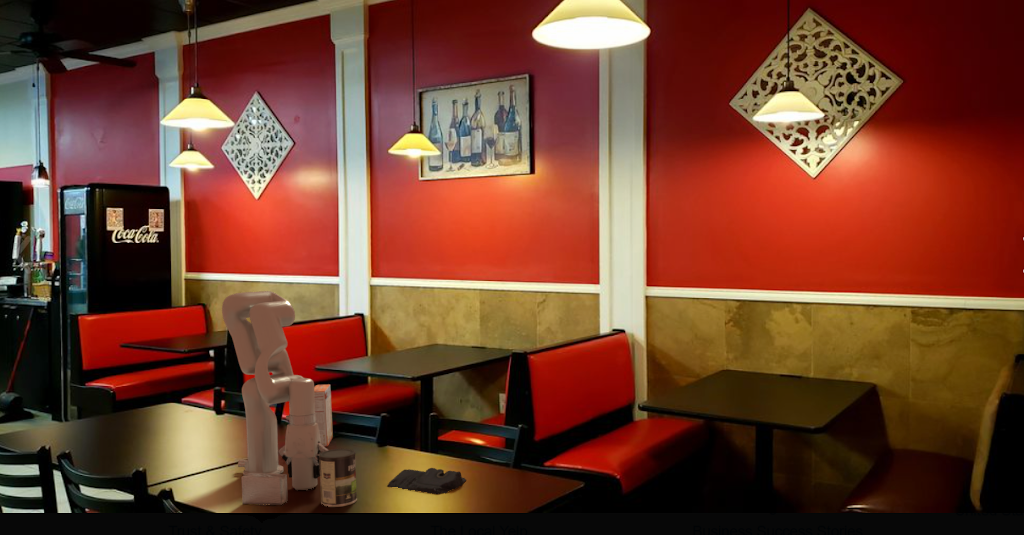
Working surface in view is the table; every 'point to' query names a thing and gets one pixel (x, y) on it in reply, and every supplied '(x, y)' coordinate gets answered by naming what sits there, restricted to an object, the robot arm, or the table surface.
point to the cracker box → (323, 413)
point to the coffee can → (338, 477)
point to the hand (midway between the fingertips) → (304, 476)
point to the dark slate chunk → (428, 480)
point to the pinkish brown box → (264, 489)
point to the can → (302, 472)
